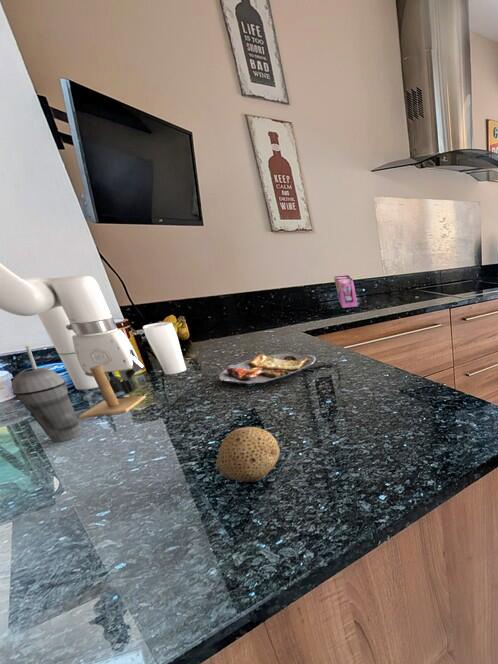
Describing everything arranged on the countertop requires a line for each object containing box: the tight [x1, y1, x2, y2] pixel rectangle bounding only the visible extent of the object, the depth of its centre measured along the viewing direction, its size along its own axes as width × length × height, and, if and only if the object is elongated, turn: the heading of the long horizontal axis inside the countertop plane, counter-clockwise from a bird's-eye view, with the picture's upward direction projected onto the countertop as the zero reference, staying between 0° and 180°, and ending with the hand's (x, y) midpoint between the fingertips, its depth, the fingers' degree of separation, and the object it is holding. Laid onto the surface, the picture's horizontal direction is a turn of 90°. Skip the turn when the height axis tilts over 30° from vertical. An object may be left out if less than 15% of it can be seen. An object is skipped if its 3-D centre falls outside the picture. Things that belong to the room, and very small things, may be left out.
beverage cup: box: [11, 345, 83, 443], centre depth 80 cm, size 7×7×20 cm
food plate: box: [217, 352, 317, 386], centre depth 116 cm, size 25×23×4 cm
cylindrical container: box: [37, 306, 99, 391], centre depth 106 cm, size 7×7×25 cm
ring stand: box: [78, 366, 147, 419], centre depth 94 cm, size 9×9×11 cm
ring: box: [82, 388, 126, 403], centre depth 104 cm, size 9×9×1 cm
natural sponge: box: [215, 426, 281, 483], centre depth 66 cm, size 9×9×10 cm
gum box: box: [333, 274, 359, 309], centre depth 209 cm, size 24×8×14 cm, turn 27°
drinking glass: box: [142, 321, 187, 375], centre depth 116 cm, size 7×7×15 cm
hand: (125, 393), depth 105 cm, fingers closed on ring, 1 cm apart
